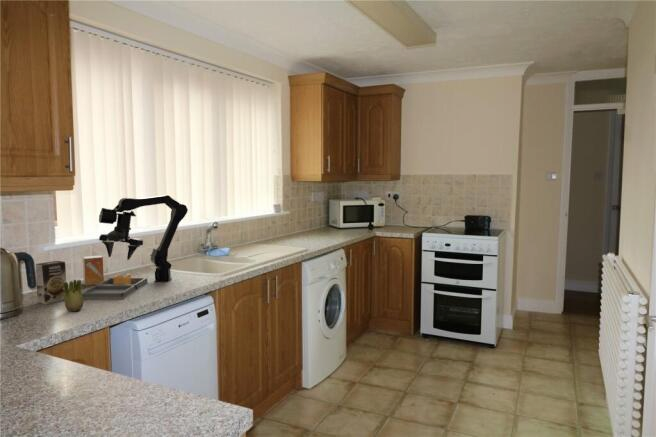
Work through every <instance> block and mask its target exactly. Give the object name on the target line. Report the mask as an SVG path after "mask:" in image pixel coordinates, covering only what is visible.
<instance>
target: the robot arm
mask: <svg viewBox="0 0 656 437" xmlns="http://www.w3.org/2000/svg"><path fill="white" fill-rule="evenodd" d="M161 204H162V205H163V204H164V205H165V206H167V207H168V208H169V209H170V219H169V222H168V225H167V227H166V230H165V232H164V234H163V236H162V238H161V241H160V243H159V245H158V247H157V248H153V249H152V252H151V253H150V261H151V263H152V264H153V265H154V266H155V271H154V282H169V281H171V280H172V279H173V278H172V276H171V275H172V274H171V268H172V263H170V262H169V261H168V256H169V255H168V254H169V248H170V246H171V243H172V242H173V238H174V236H175V234H176V231H177V229H178V227H179V225H180V223H181V222H182V220H183V219H184V218H185V217H186V216H187V214H188V211H189V209H188V207H187V205H185V204H184V203H181V202H178V201H177V200H176V199H174V198H172V197H171V195H168V194H163V195H158V196H157V195H156V196H151V197H150V196H149V197H148V196H147V197H141V198H136V197H135V198H133V197H132V198H131V197H122V198H120V199H119V201H118V203H117V205H115V207H114V208H113V209H112V208H105V207H101V210H100V212H99V216H98V223H100V224H110V225H113V224H114V223H116V226H114V227H113V230H111V231H110V232H108V233H104V234H103V233H101V234H100V235H99V237H98V240H99V241H100V242H101V243H102V244H104V246H105V248H106V250H107V256H108V257H109V258H111V256H112V254H113V248H114V244H115V243H116V242H117V243H118V242H120V243H127V244H129V245H127V247H128V250H127V251H128V252H127V258H126V259H127V261H129V260H130V259H131V258H132V256H133V254H134V253H135V251H136V250H137V249H138V248H140V247H141V246H143V245H144V241H143V239H142V238H137V237H136V238H131V237H130V231H131V230H132V227H131V220H132V217H137V215H136V214H135V212H134V210H136V209H138V208H142V207H147V206H155V205H161Z"/></svg>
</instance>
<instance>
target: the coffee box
mask: <svg viewBox="0 0 656 437" xmlns="http://www.w3.org/2000/svg"><path fill="white" fill-rule="evenodd" d="M66 271H67V270H66V262H65V261H60V260H55V261H53V260H52V261H48V262H41V263H35V275H36V276H35V278H36V280H35V281H36V298H37V299H36V300H37V303H39V304H42V305H48V304H49V305H50V304H53V303H57V302H61V301H65V289H64V282H67V272H66Z"/></svg>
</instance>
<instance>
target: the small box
mask: <svg viewBox="0 0 656 437" xmlns="http://www.w3.org/2000/svg"><path fill="white" fill-rule="evenodd" d="M82 272H83V273H82V274H83V284H84V286H86V287H87V286H96V285H97V284H99V283H101V282H103V281H105V280H104V277H105V276H104V257H103V256H102V255H89V256H82Z"/></svg>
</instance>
